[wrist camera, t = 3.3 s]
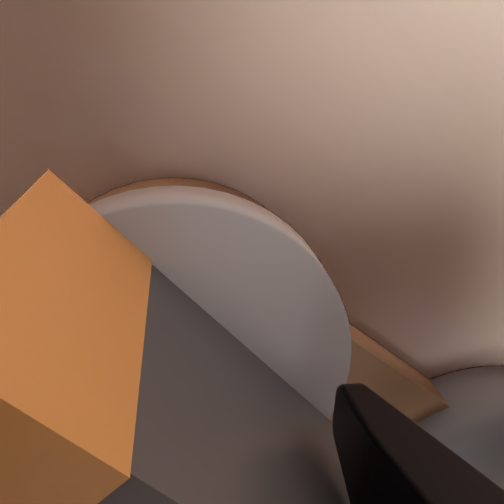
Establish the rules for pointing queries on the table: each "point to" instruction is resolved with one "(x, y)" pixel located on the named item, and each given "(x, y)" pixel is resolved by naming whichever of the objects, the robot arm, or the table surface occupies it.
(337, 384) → the knob
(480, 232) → the table surface
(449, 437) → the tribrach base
